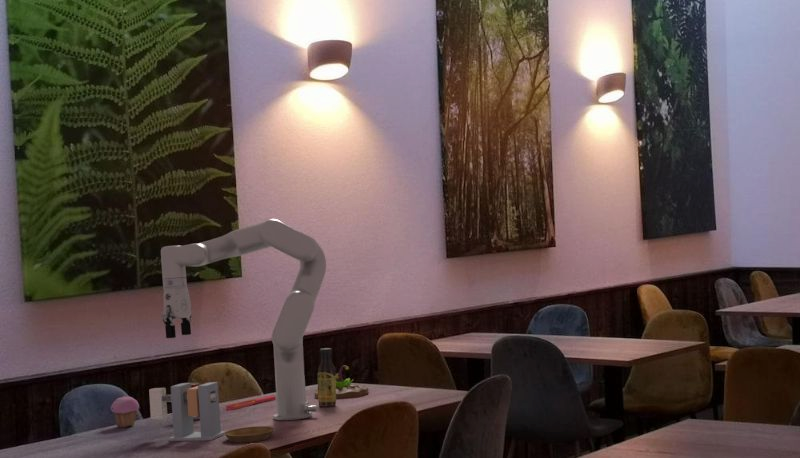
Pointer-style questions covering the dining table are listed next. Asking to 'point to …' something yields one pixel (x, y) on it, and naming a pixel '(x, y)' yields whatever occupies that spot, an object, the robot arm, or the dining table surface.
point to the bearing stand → (206, 408)
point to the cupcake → (125, 411)
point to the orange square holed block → (193, 401)
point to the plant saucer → (249, 434)
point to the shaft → (163, 402)
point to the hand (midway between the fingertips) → (178, 336)
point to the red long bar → (250, 402)
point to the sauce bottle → (326, 379)
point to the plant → (347, 387)
